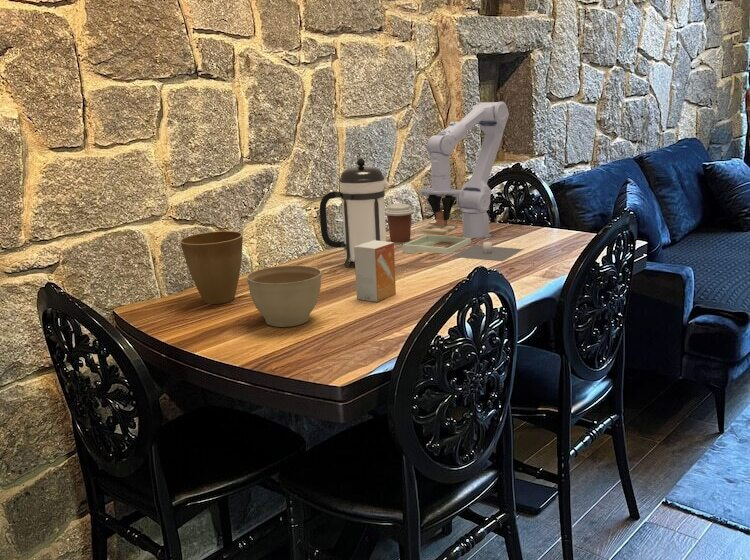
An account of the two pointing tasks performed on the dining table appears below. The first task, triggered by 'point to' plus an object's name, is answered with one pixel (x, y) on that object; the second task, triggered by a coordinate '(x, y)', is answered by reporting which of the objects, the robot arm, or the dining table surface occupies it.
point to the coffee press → (358, 209)
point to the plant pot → (214, 263)
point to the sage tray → (429, 240)
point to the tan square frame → (437, 226)
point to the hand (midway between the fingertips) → (442, 219)
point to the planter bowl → (285, 293)
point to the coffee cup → (399, 223)
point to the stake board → (492, 256)
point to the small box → (375, 270)
